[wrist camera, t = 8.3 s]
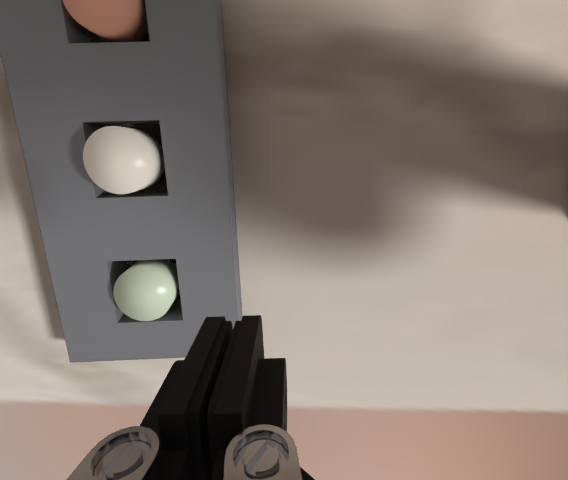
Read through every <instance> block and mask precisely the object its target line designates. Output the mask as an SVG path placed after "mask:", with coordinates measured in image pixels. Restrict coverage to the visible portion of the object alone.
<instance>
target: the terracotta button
mask: <svg viewBox="0 0 568 480" xmlns="http://www.w3.org/2000/svg"><path fill="white" fill-rule="evenodd" d="M63 3H64V5H65V7H66V9H67V10H68V12H69V13H70V15H71V16H72V17H73V18H74V19H75V20H76V21H77V22H78V23H79V24H80V25H82V26H84V27H85V28H87V29H88V30H90V31H91V32H93V33H95V34H96V35H98V36H99V37H101V38H102V39H104V40H106V41H107V42H138V41H139V40H140V39H142V38H143V36H144V35H145V34H146V32H147V30H148V21H147V13H146V5H145V0H63Z"/></svg>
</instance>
